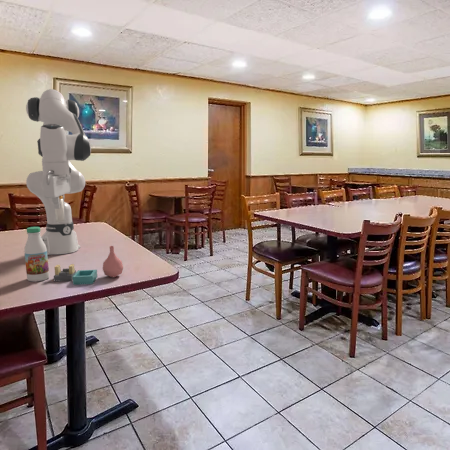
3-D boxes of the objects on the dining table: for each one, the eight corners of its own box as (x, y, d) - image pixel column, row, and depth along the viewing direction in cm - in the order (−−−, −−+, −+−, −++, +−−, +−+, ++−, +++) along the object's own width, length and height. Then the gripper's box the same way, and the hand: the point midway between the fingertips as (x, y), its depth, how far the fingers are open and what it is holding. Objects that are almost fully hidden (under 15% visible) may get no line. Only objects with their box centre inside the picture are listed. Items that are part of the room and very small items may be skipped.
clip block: (54, 281, 146) (52, 268, 145) (59, 275, 152) (58, 263, 151) (71, 280, 147) (70, 267, 146) (76, 275, 153) (75, 262, 152)
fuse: (54, 221, 145) (52, 196, 143) (62, 220, 147) (59, 195, 146) (58, 222, 143) (56, 196, 141) (66, 220, 146) (64, 195, 144)
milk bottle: (24, 278, 149) (18, 227, 145) (45, 274, 154) (40, 224, 151) (31, 283, 144) (25, 230, 140) (52, 278, 149) (47, 227, 145)
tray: (73, 284, 142) (72, 276, 141) (78, 277, 150) (78, 270, 149) (92, 283, 143) (92, 276, 142) (97, 277, 151) (96, 269, 150)
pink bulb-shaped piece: (124, 272, 156) (123, 243, 153) (122, 279, 148) (120, 248, 146) (104, 273, 154) (102, 244, 152) (101, 280, 147) (99, 249, 145)
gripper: (56, 171, 132) (59, 211, 135) (72, 168, 152) (75, 203, 155) (36, 171, 131) (40, 212, 134) (55, 168, 151) (58, 203, 154)
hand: (59, 207), depth 144 cm, fingers closed on fuse, 3 cm apart
